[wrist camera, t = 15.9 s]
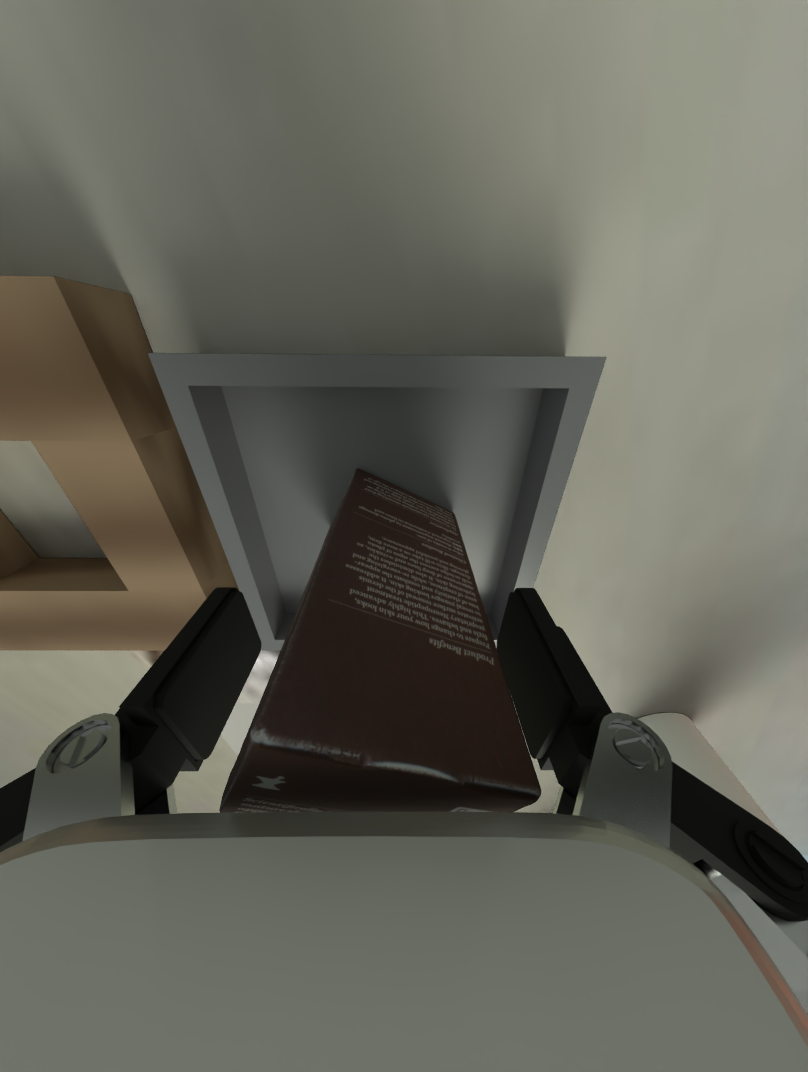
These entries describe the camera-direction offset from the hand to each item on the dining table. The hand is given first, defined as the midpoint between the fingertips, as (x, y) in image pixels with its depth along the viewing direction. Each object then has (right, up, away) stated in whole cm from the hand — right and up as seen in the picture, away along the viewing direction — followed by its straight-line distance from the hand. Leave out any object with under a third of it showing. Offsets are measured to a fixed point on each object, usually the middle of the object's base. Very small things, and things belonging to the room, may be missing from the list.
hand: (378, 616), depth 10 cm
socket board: (-18, +5, +6) cm, 20 cm away
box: (0, +4, +6) cm, 7 cm away
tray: (0, +4, +6) cm, 8 cm away
